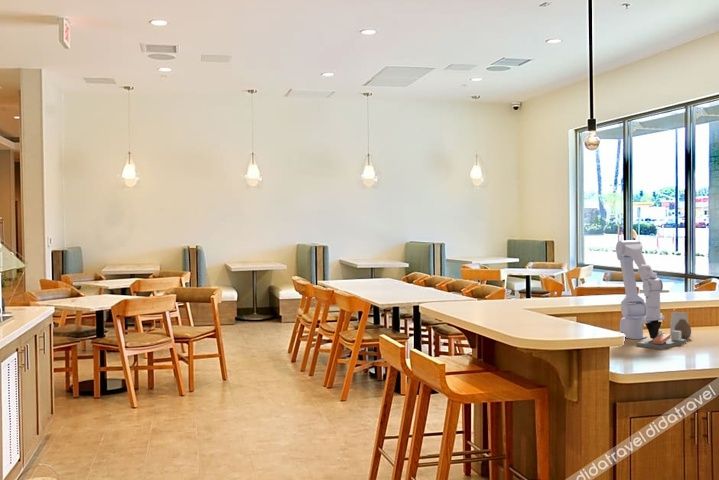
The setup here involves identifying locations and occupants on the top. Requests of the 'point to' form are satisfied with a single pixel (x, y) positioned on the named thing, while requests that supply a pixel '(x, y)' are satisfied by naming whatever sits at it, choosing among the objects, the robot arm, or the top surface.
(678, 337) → the slotted white box
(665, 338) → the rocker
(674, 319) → the grey rectangular block
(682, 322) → the vase
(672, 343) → the console
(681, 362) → the top surface
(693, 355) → the top surface
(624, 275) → the robot arm
